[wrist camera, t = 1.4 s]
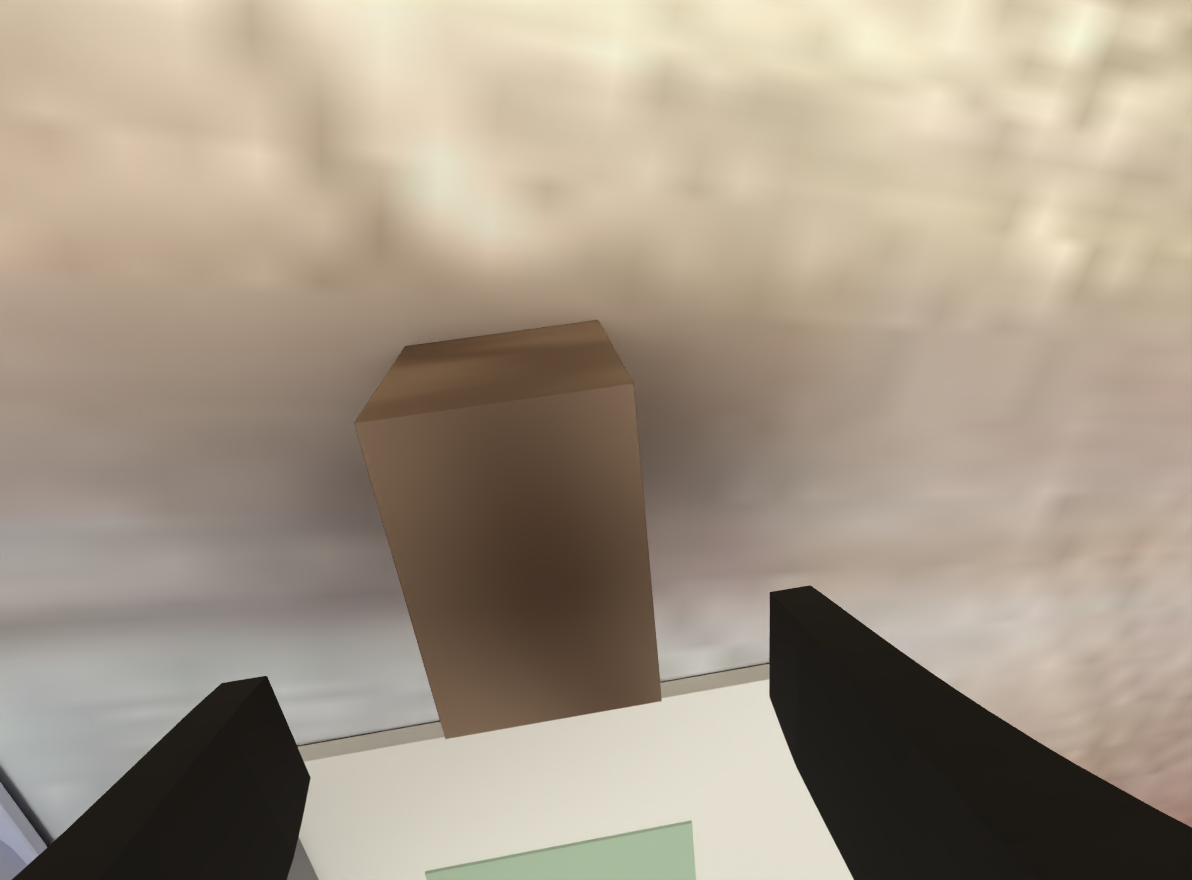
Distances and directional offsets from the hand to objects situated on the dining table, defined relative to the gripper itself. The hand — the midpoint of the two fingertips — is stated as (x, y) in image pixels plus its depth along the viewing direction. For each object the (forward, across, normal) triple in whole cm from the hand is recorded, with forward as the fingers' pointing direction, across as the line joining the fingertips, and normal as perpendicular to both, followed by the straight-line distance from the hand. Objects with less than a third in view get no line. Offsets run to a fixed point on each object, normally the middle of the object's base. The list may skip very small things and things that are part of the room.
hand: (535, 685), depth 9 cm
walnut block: (+8, 0, 0) cm, 8 cm away
